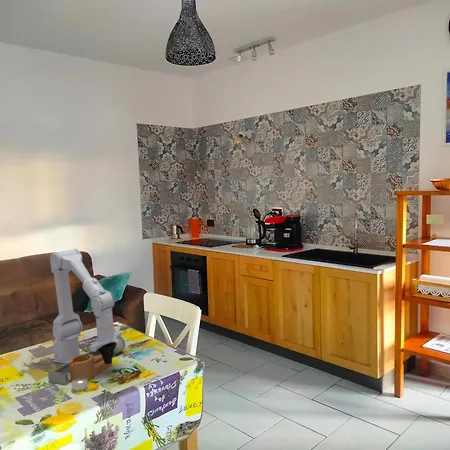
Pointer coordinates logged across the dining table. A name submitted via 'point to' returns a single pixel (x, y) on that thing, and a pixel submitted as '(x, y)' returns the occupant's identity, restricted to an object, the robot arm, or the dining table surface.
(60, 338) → the robot arm
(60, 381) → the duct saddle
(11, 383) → the dining table surface
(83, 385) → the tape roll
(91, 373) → the bracket
